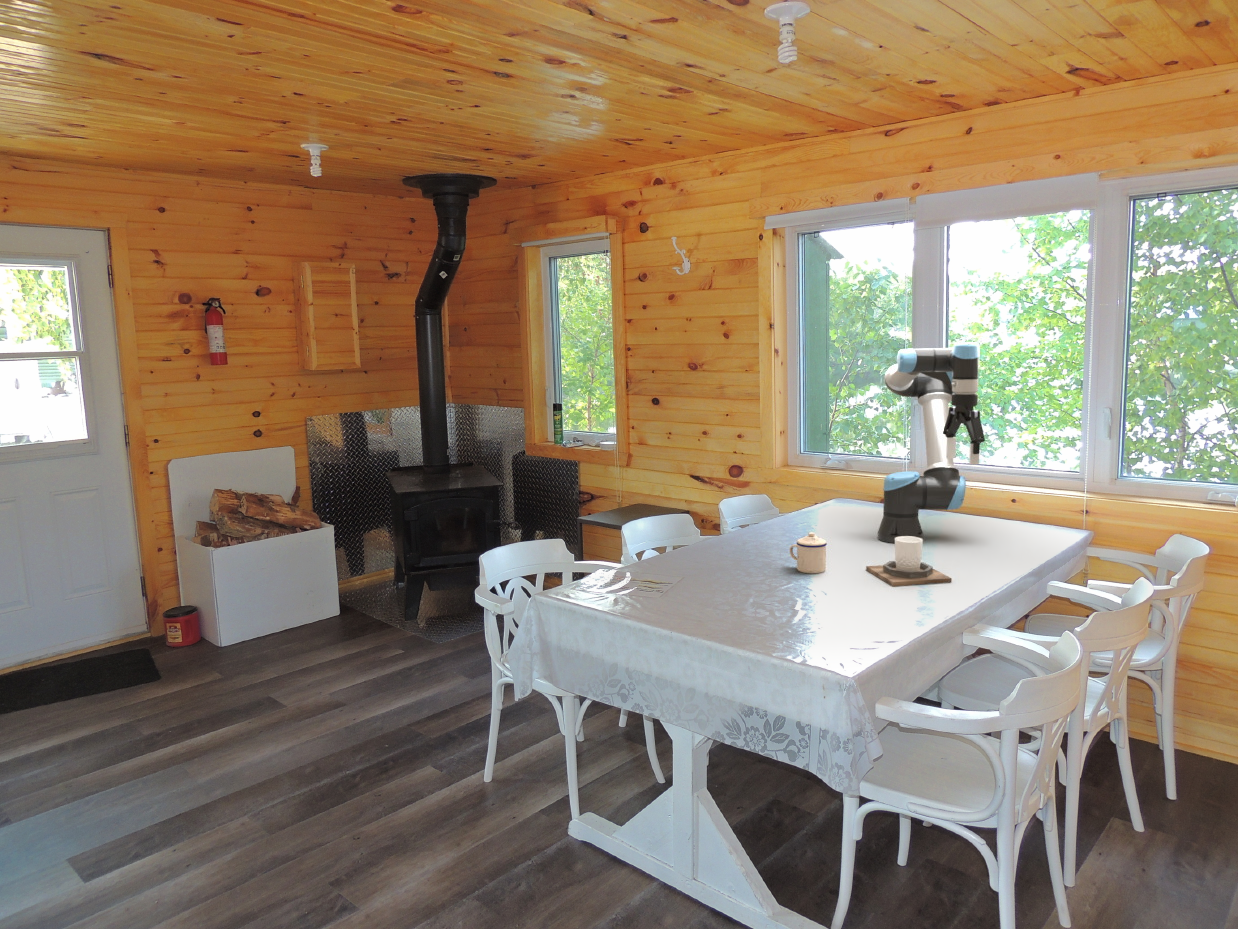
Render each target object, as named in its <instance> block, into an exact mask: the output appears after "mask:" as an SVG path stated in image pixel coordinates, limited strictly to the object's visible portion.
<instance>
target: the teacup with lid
mask: <svg viewBox="0 0 1238 929" xmlns="http://www.w3.org/2000/svg"><path fill="white" fill-rule="evenodd" d="M827 545H828V543H827V540H825V539H823V538H821V537H819V536H817V535H816V533H815V532H809V533H808V535H806V536H804V537H802V538H798V539H797V540H796V544H791V545H790V547H789V554H790V557H791V558H792V559H793V560H795V561H796V569H797V571H798V572H801V573H804V574H820V573H825V571H826V568H827V567H826V566H827V564H826V562H827ZM794 548H796V556H795V553H794V551H793V549H794Z"/></svg>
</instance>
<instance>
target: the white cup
mask: <svg viewBox="0 0 1238 929" xmlns="http://www.w3.org/2000/svg"><path fill="white" fill-rule="evenodd" d="M923 542H924V538H923V539H921V538H918V537H912V536H900V537H896V538H895V543H894V561H895V562H896V570H903V571H920V564H921V562H922V555H923V553H922V552H923V544H924V543H923Z"/></svg>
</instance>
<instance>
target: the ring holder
mask: <svg viewBox="0 0 1238 929" xmlns="http://www.w3.org/2000/svg"><path fill="white" fill-rule="evenodd" d="M865 566H866V567H865V570H866V571H867V572H868V573H870V574H872V575H873V576H875V577H877V578H879V579H880V580H882V581H883V580H884V581H883V582H885V583H887V584H888V583H889V584H888V585H889V586H891V585H892V587H899V586H903V585H904V586H913V585H912V584H918V585H926V584H925V583H933V584H943V582H948V583H952V582H953V581H952V579H953V578H952V577H951V576H948V575H946V574H944V573H942V572H940V571H939V570H937V569H935V568H933V566H932V565H930V564H928V563H926V562H923V561H921V564H920V571H903V570H896V562H895V560H889V561H888V562H886V563H884V564H879V565H865ZM904 586H903V587H904Z"/></svg>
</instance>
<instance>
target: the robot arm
mask: <svg viewBox="0 0 1238 929" xmlns="http://www.w3.org/2000/svg"><path fill="white" fill-rule="evenodd" d="M980 355H981V353H980V344H979V342H976V341H975V342H973V341H969V342H967V341H966V342H965V341H964V342H961V341H960V342H954V344H953V346H952V347H941V348H940V347H937V348H936V347H935V348H901V349H900V350H899V351H898V352H897V355H896V356H897V357H896V364H893V365H891V366H890V367H889V368H888V369H887V371H885V373H884V377H883V378H884V379H883V380H884V384H885V386H886V388H887V389H888V390H889V391H890V392H891V393H893V394H895V395H898V396H900V397H905V398H917V402H918V404H919V405H920V406H921V407H922V412H923V425H924V426H923V427H924V438H925V450H926V466H927V468H925V470H924V471H923V475H921V474H920V472H918V471H915V470H913V471H911V470H909V471H897V472H893V473H890V474H888V475H886V476H885V478H884V481H883V488H882V491H883V512H882V513H883V516H882V519H881V521H880V524H879V527H878V529H877V539H878V540H880V541H882V542H886V543H891V544H895V538H896V537H900V536H912V537H918V538H921V539H923V540H924V532H923V528H922V526H921V523H920V519H919V511H920V510H931V511H934V510H936V511H937V510H939V511H941V510H942V511H949V510H950V511H952V510H958V509H960V508H961V507H962V505H963V503H964V499H965V495H966V488H967V487H966V486H967V484H966V483H967V482H966V477H965V476H964V475H962V474H961V475H960V469H958V468H957V467H956V466H954V459H955V458H956V451H957V449H956V448H957V432H958V431H959V429H960V427H961V424H962V425H964V426H965V427H966V431H967V433H968V435H969V438H970V442H969V460H968V462H969V463H968V464H969V465H970V466H974V465H980V450H981V447H980V446H981V443H985V441H986V440H985V435H984V434H985V433H984V430H983V426H982V421H981V412H980V410H979V409H977V410H974V407H976V406H977V405H978V400H979V399H978V398H979V395H978V391H979V374H980V372H979V368H980ZM949 403H950V404H951V406H949Z"/></svg>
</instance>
